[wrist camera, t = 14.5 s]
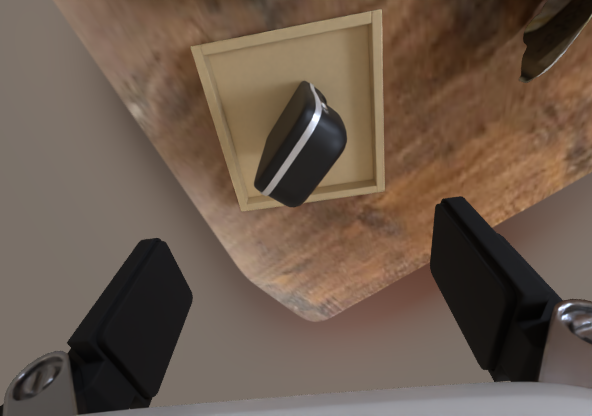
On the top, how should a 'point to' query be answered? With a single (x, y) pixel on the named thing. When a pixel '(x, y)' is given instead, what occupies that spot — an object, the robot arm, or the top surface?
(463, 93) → the top surface
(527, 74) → the sculpture
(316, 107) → the battery charger
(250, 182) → the tray
